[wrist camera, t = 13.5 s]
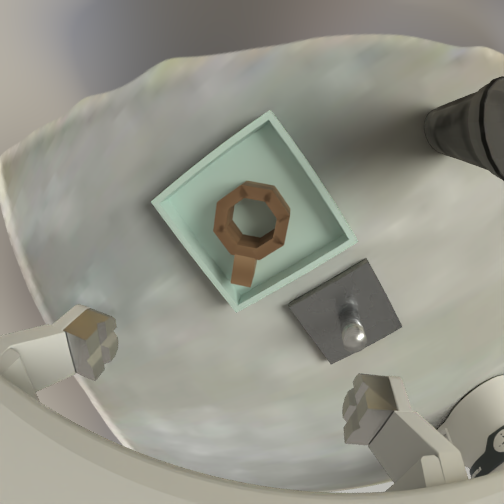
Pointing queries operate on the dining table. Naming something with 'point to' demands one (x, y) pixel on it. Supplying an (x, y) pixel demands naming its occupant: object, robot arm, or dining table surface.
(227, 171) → the tray
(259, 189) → the ring
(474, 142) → the beverage cup
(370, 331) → the stake
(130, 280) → the dining table surface
